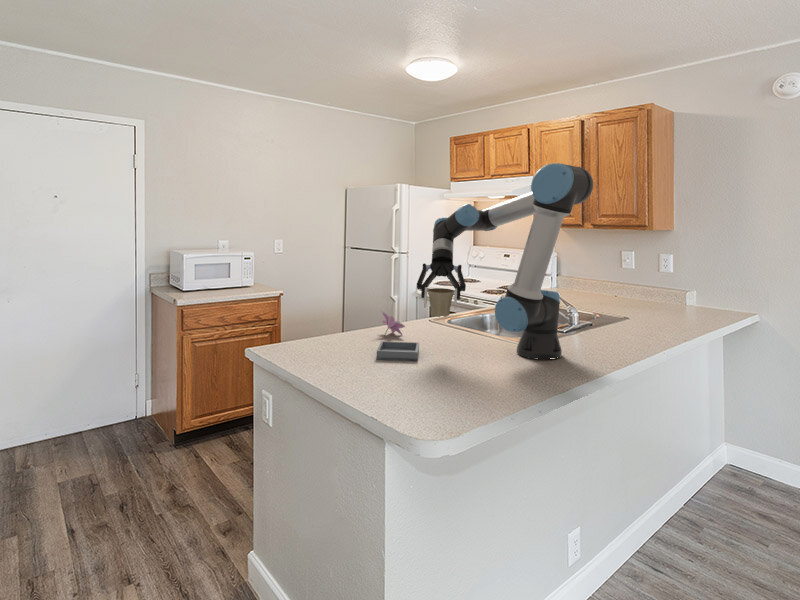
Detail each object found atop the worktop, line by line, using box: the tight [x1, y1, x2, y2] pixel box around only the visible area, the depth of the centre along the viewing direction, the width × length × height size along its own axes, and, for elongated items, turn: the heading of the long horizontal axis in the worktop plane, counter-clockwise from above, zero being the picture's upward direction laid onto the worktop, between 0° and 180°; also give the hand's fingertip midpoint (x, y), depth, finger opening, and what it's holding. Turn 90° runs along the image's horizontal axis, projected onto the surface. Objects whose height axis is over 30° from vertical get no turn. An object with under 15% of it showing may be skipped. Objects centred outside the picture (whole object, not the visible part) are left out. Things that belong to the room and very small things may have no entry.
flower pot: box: [427, 287, 455, 318], centre depth 171 cm, size 9×9×9 cm
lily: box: [380, 310, 406, 338], centre depth 202 cm, size 12×12×10 cm
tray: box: [376, 340, 420, 362], centre depth 173 cm, size 14×14×3 cm
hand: (440, 305), depth 168 cm, fingers closed on flower pot, 9 cm apart
